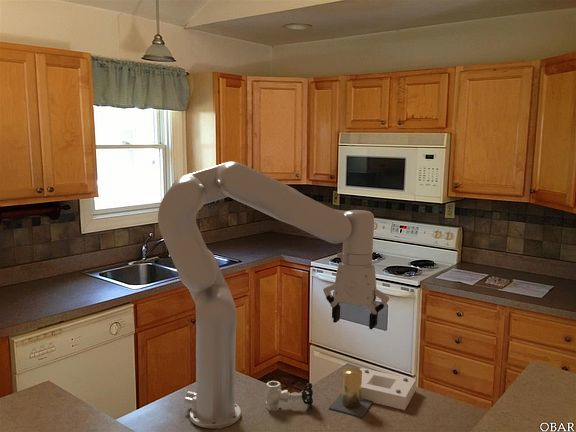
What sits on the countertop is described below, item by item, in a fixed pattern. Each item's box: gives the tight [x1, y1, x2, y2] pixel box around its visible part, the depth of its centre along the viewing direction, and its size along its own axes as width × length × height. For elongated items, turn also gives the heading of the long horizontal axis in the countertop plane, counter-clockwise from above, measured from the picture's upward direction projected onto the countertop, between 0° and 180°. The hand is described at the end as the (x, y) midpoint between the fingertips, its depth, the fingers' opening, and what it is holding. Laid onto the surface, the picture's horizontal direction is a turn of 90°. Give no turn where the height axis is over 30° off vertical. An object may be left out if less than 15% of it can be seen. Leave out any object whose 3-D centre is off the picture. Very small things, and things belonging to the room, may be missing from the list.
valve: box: [264, 380, 314, 412], centre depth 133 cm, size 7×7×12 cm
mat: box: [328, 393, 374, 418], centre depth 135 cm, size 9×9×1 cm
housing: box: [358, 367, 417, 411], centre depth 142 cm, size 16×12×4 cm
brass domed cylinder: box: [342, 367, 362, 409], centre depth 135 cm, size 5×5×9 cm
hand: (354, 324), depth 133 cm, fingers open, 9 cm apart
